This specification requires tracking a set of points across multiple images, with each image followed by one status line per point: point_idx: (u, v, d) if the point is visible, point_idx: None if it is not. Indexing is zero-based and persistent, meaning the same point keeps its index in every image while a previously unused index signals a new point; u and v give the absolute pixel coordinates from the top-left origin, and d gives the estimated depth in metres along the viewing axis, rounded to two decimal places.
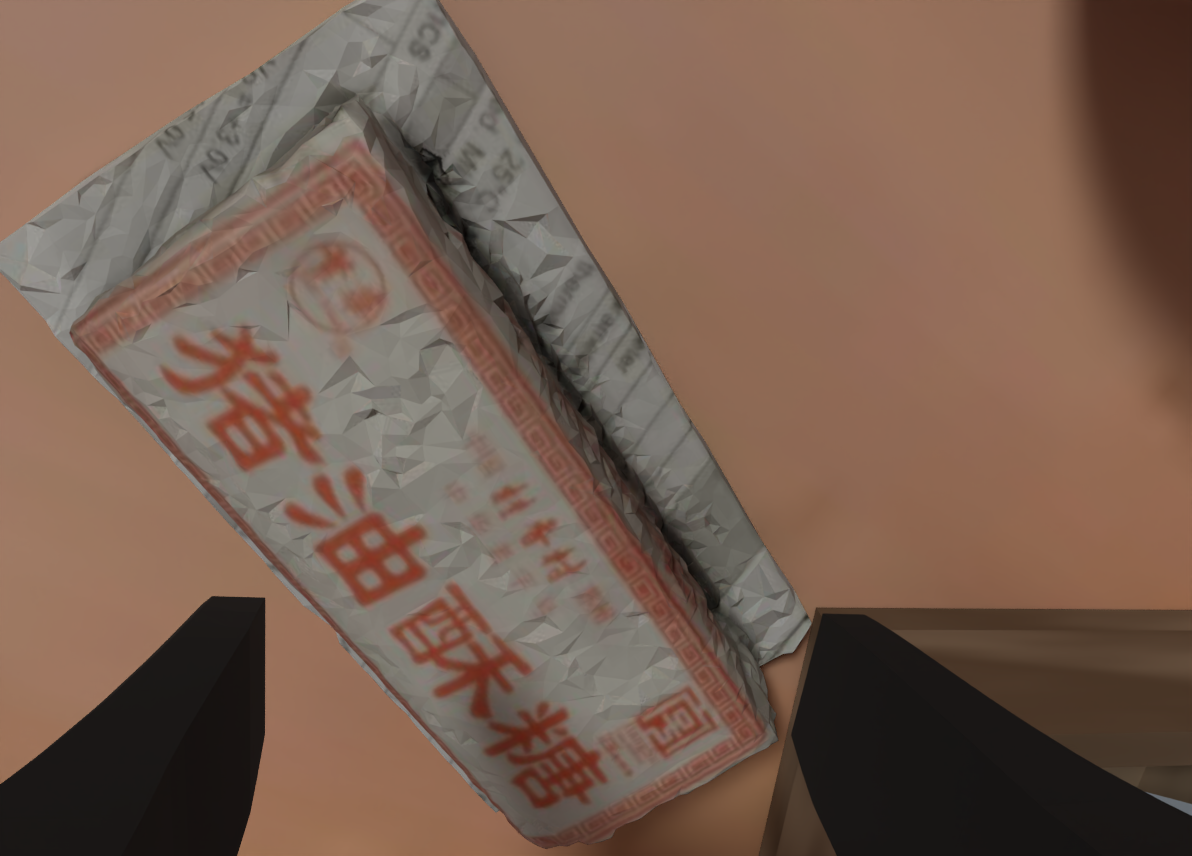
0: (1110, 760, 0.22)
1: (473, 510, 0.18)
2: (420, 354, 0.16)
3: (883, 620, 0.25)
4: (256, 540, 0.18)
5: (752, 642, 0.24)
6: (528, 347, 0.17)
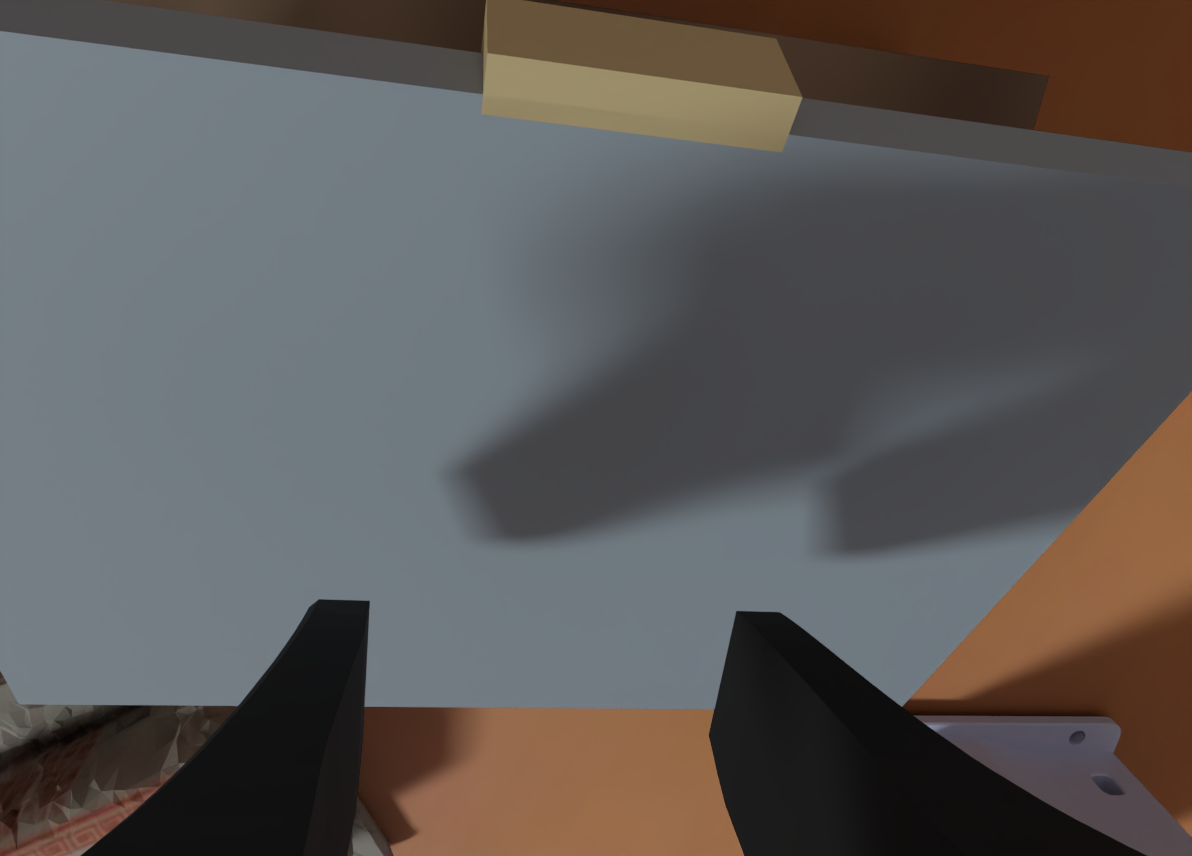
0: None
1: None
2: None
3: None
4: None
5: None
6: None
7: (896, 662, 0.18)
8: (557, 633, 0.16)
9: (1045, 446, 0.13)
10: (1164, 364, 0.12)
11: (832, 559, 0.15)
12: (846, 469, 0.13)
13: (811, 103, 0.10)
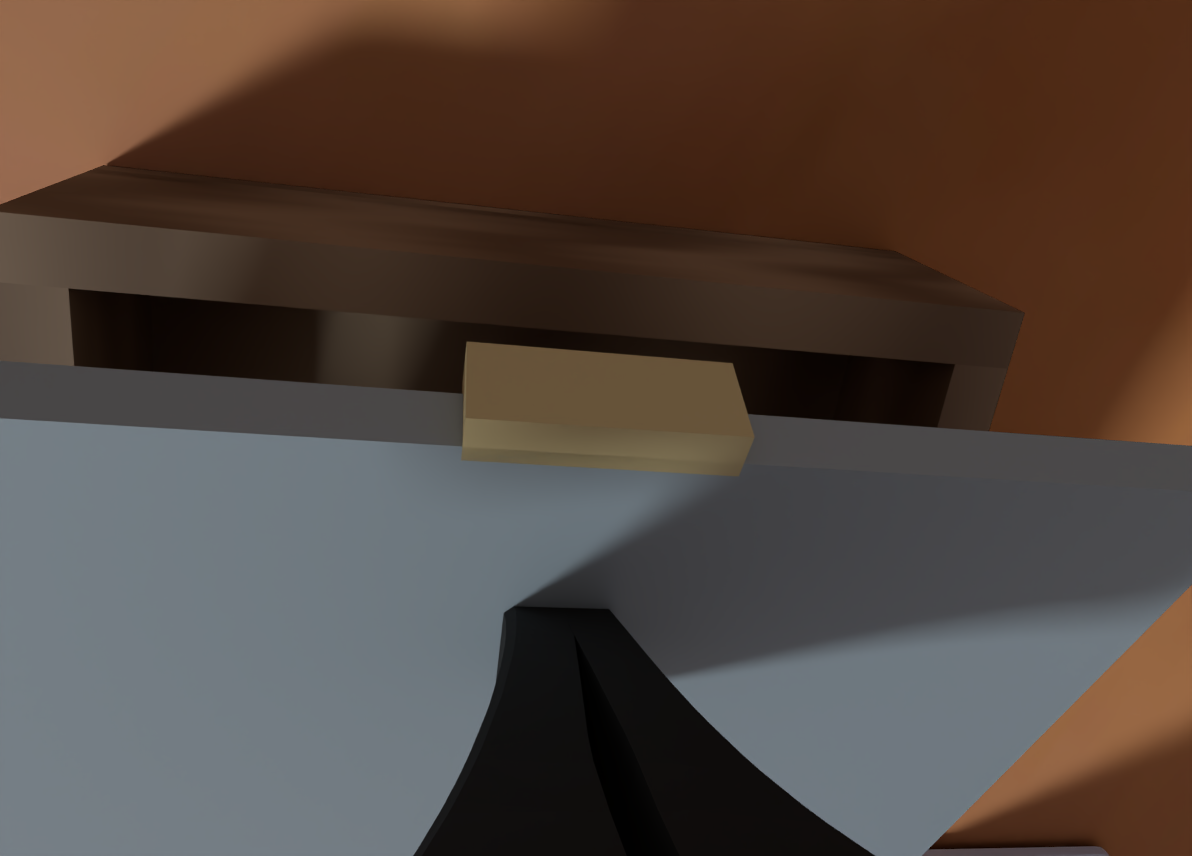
0: None
1: None
2: None
3: None
4: None
5: None
6: None
7: (879, 853, 0.18)
8: None
9: (1007, 680, 0.14)
10: (1113, 615, 0.13)
11: (810, 774, 0.16)
12: (817, 705, 0.14)
13: (766, 420, 0.11)
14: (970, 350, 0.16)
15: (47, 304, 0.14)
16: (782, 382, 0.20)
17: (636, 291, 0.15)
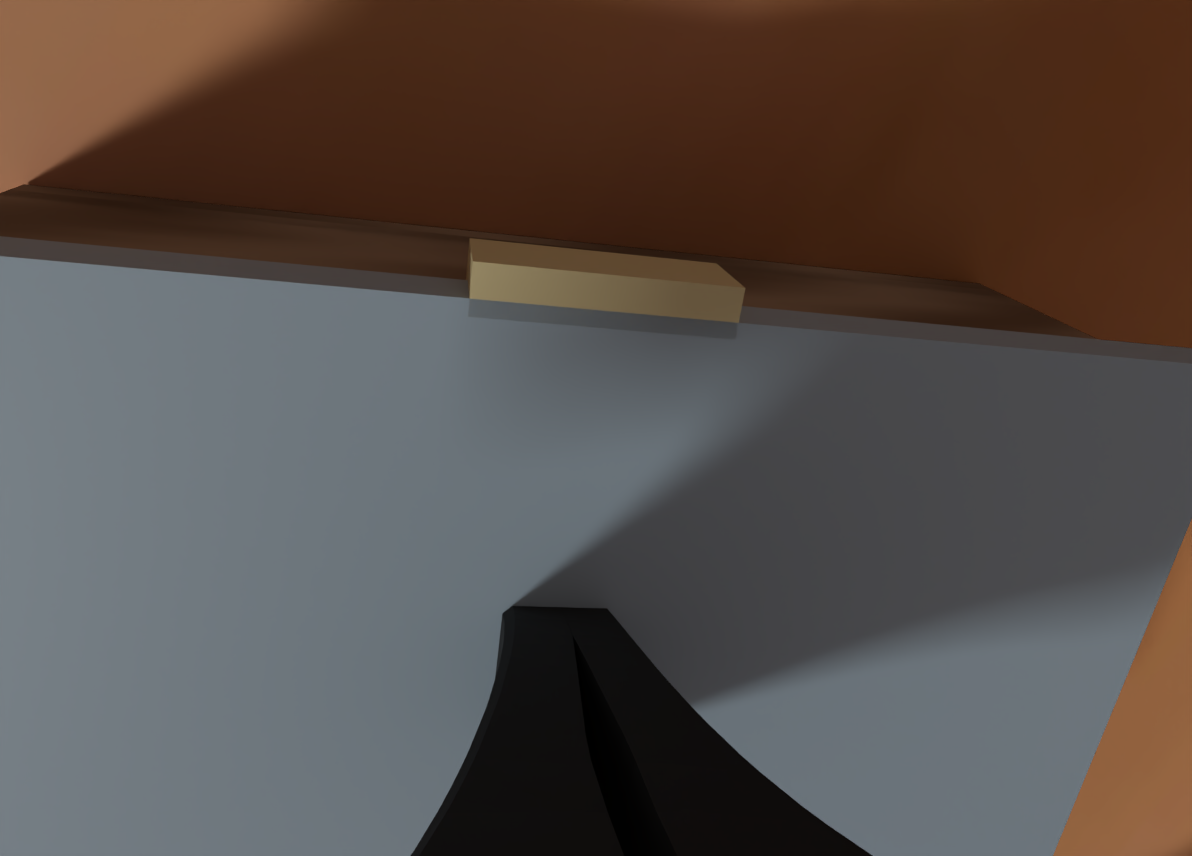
0: None
1: None
2: None
3: None
4: None
5: None
6: None
7: None
8: None
9: (1047, 645, 0.13)
10: (1134, 541, 0.13)
11: (859, 810, 0.14)
12: (852, 687, 0.13)
13: (754, 309, 0.11)
14: None
15: None
16: None
17: None
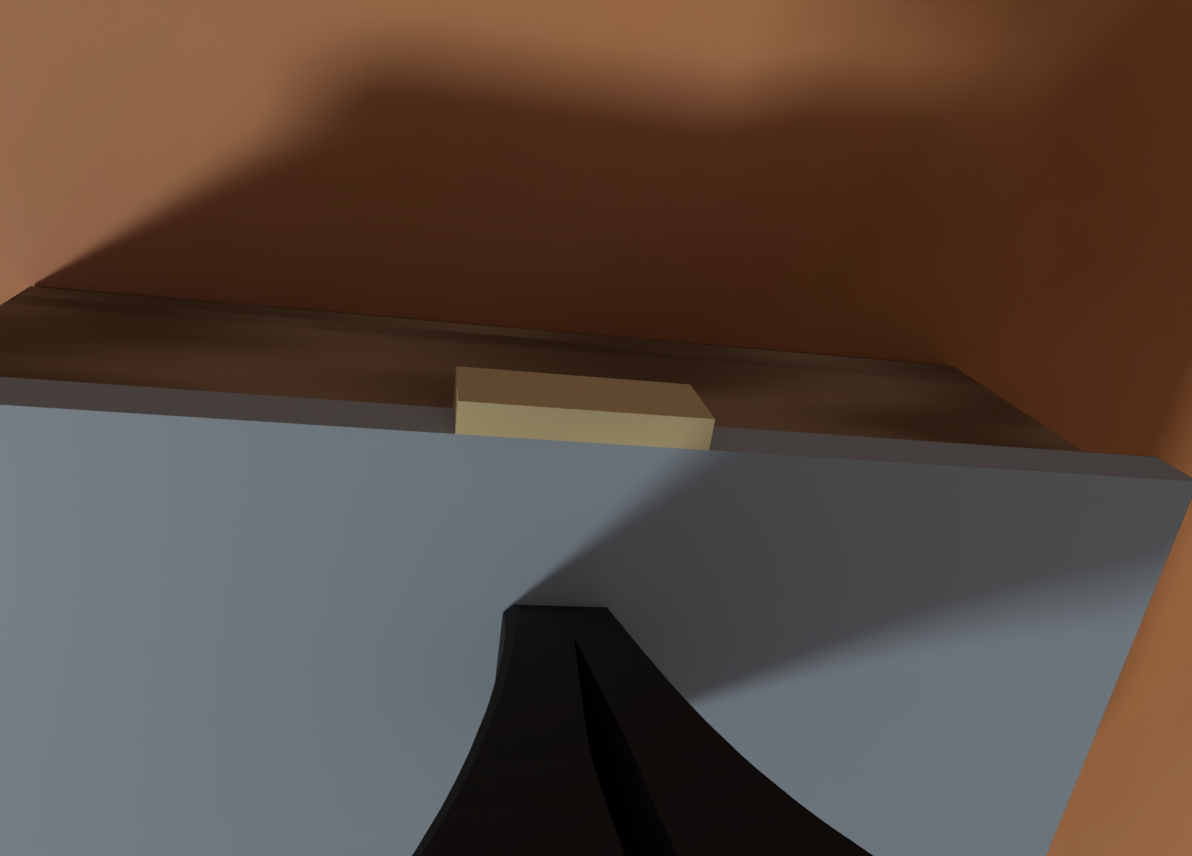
0: None
1: None
2: None
3: None
4: None
5: None
6: None
7: None
8: None
9: (1007, 734, 0.14)
10: (1089, 639, 0.13)
11: None
12: (822, 775, 0.14)
13: (726, 429, 0.12)
14: None
15: None
16: None
17: None
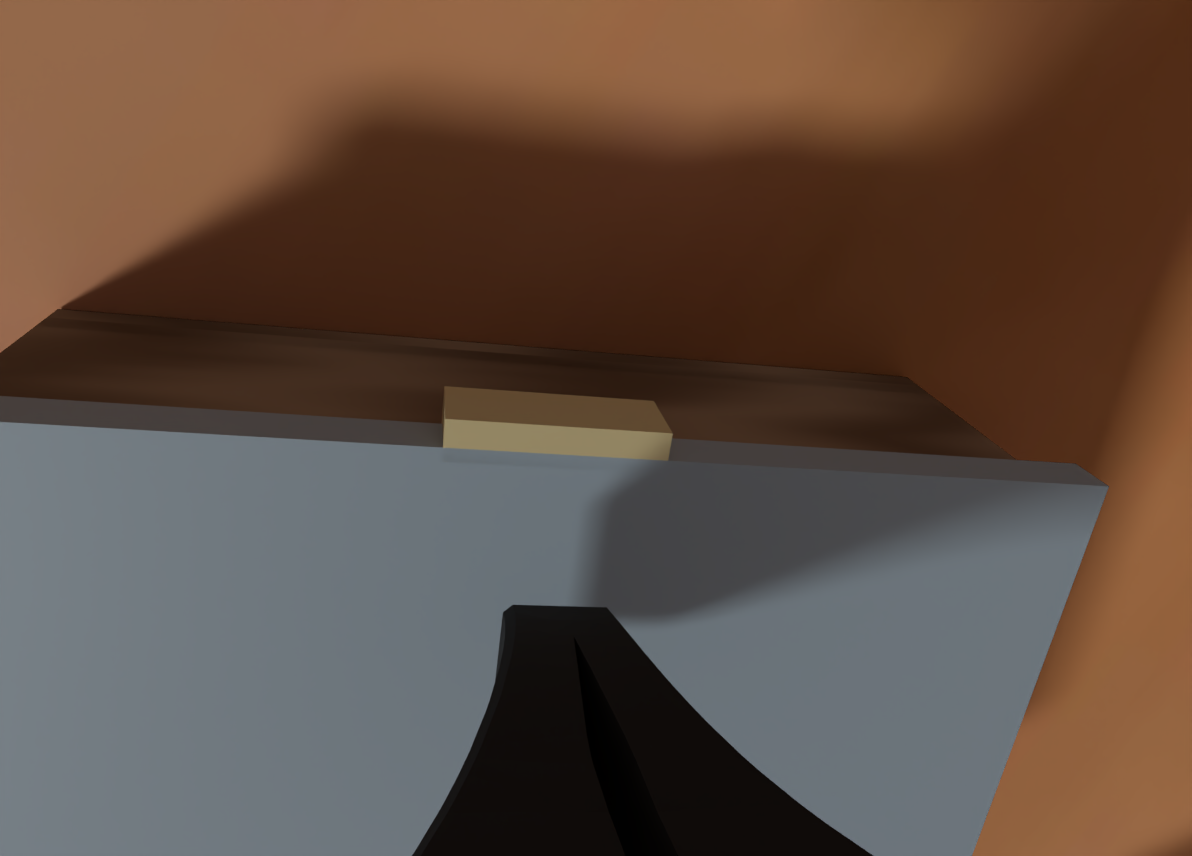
0: None
1: None
2: None
3: None
4: None
5: None
6: None
7: None
8: None
9: (944, 714, 0.15)
10: (1016, 627, 0.15)
11: None
12: (776, 751, 0.15)
13: (685, 441, 0.13)
14: None
15: None
16: None
17: None
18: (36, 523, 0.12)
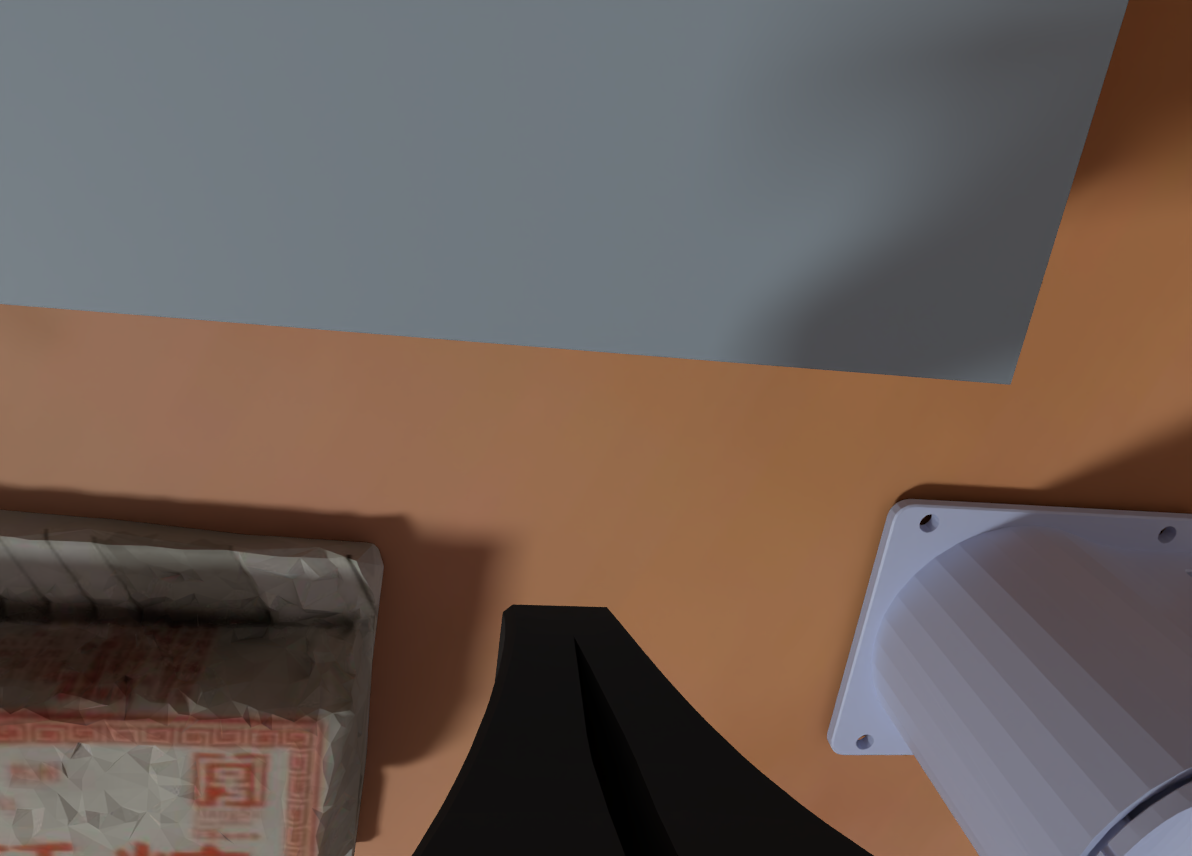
0: None
1: None
2: None
3: None
4: None
5: (334, 614, 0.22)
6: None
7: (993, 270, 0.16)
8: (613, 175, 0.14)
9: None
10: None
11: (900, 38, 0.14)
12: None
13: None
14: None
15: None
16: None
17: None
18: None
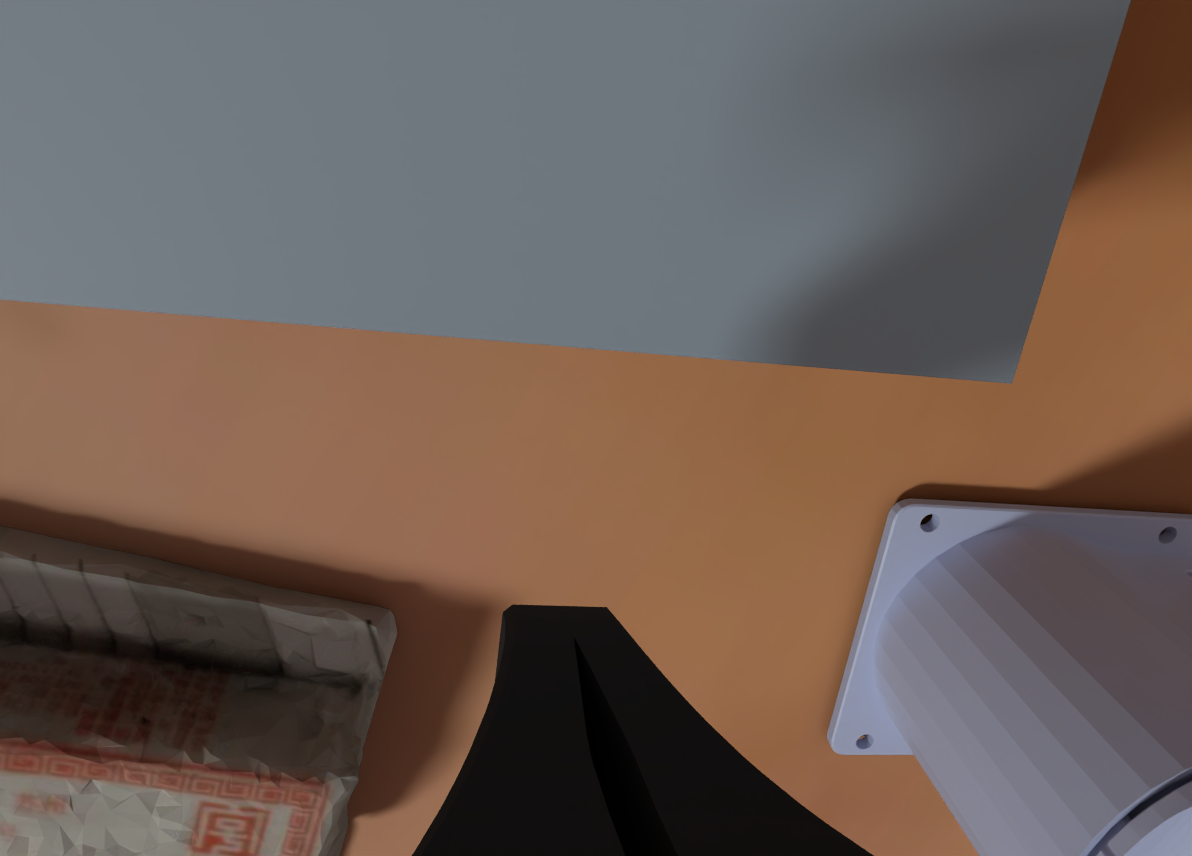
0: None
1: None
2: None
3: None
4: None
5: (344, 675, 0.23)
6: None
7: (995, 269, 0.16)
8: (616, 172, 0.14)
9: None
10: None
11: (902, 37, 0.14)
12: None
13: None
14: None
15: None
16: None
17: None
18: None
